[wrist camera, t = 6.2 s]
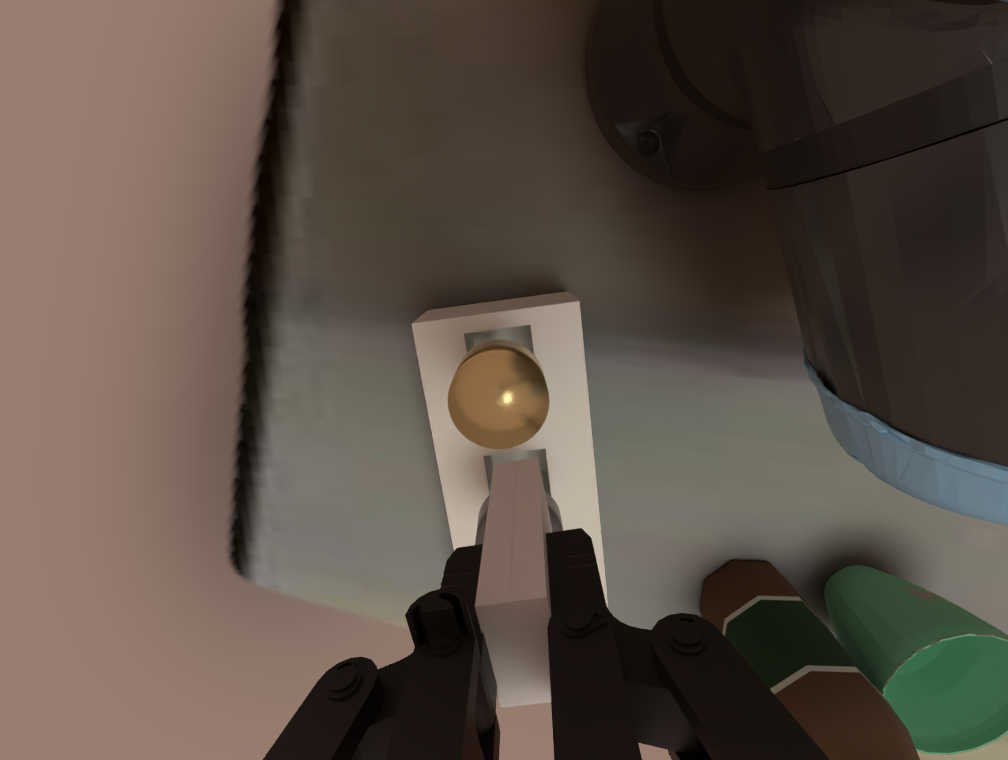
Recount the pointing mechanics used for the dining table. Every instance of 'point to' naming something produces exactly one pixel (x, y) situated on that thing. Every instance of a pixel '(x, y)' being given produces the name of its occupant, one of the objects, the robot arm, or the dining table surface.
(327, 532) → the dining table surface
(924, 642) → the mug
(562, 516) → the panel
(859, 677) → the beer bottle
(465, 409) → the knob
